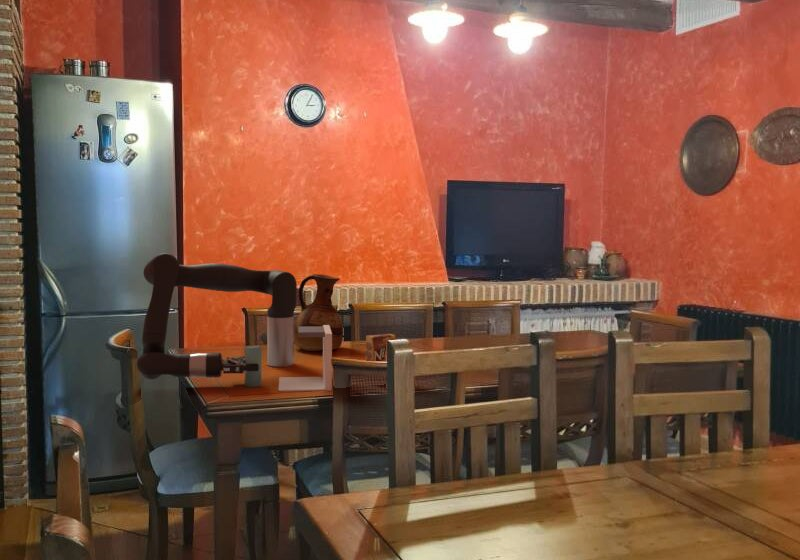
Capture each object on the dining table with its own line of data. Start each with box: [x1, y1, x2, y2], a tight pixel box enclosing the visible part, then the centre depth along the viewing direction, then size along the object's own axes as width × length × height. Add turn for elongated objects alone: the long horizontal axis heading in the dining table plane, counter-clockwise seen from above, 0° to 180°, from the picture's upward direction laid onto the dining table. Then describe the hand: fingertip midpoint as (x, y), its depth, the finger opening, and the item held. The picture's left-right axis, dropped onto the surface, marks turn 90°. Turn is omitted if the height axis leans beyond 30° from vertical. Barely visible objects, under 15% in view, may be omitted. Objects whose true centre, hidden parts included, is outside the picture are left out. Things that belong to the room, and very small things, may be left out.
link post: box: [244, 345, 263, 388], centre depth 238 cm, size 5×5×12 cm
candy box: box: [365, 333, 396, 361], centre depth 245 cm, size 9×4×15 cm, turn 123°
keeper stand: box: [278, 325, 333, 392], centre depth 240 cm, size 18×16×18 cm
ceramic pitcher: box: [294, 273, 344, 352], centre depth 300 cm, size 20×20×30 cm
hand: (259, 364), depth 238 cm, fingers open, 8 cm apart
